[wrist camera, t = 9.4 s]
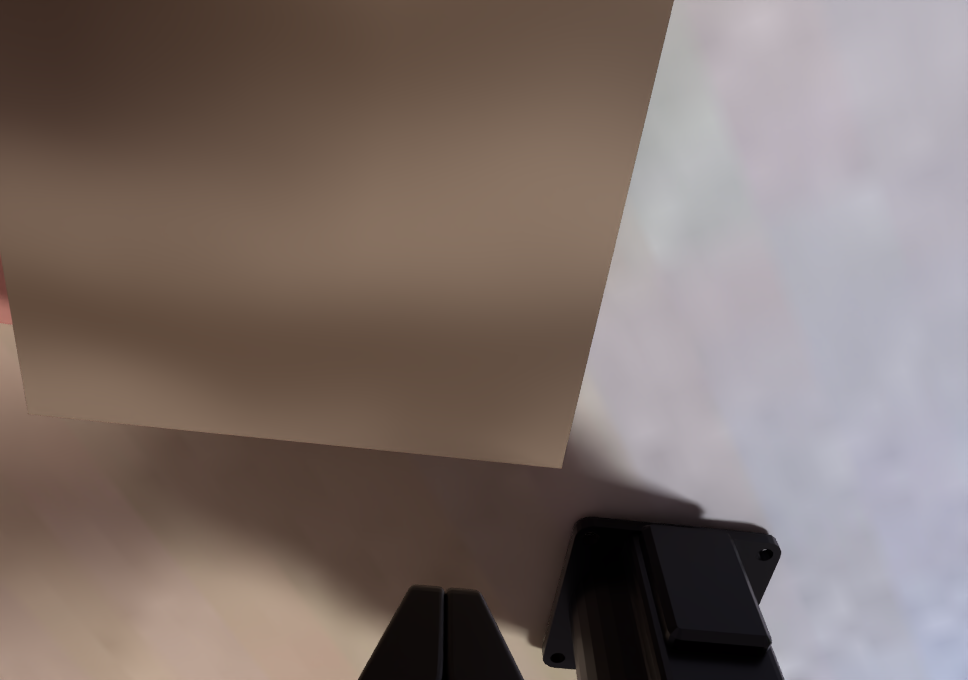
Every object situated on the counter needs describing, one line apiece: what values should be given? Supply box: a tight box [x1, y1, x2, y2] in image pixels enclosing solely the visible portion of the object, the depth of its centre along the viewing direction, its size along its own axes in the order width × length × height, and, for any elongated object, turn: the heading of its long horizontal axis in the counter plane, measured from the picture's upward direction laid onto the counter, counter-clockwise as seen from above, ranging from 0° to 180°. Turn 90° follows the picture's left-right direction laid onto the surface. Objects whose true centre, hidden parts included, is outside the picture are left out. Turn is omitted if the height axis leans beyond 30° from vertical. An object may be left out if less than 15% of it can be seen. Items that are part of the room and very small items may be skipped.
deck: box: [0, 0, 674, 469], centre depth 16 cm, size 18×12×4 cm, turn 172°
